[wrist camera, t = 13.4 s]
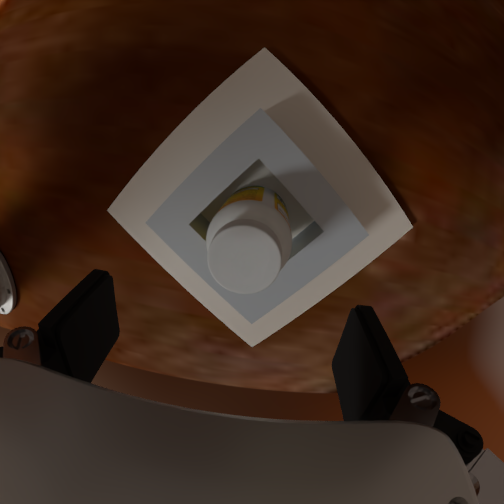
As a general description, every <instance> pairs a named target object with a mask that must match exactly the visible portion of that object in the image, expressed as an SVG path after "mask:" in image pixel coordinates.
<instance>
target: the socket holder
mask: <svg viewBox="0 0 504 504" xmlns="http://www.w3.org/2000/svg"><path fill="white" fill-rule="evenodd" d="M253 185H259V186H264V187H267V188H269V189H271V190H273V191H275V192H276V193H277V194H278V195H279V196H280V197H281V198H282V200H283V201H284V203H285V205H286V208H287V211H288V216H289V222H290V227H291V234H292V249H291V253H290V256H289V259H288V261H287V263H286V264H285V266H284V267H283V268H282V269H281V270H280V272H279V274H278V276H277V278H276V280H275V281H274V282H273V283H272V284H271V285H270V286H269V287H267V288H266V289H264V290H262V291H260V292H257V293H253V294H238V293H234V292H231V291H229V290H227V289H225V288H223V287H222V286H221V285H220V284H218V283H217V282H216V280H215V279H214V278H213V276H212V275H211V273H210V270H209V268H208V262H207V253H208V251H207V247H206V235H207V230H208V227H209V225H210V223H211V221H212V219H213V218H214V216H215V215H216V214H217V212H218V211H219V210H220V208H221V207H222V206H223V205H224V203H225V202H226V201H227V199H228V198H229V197H230V196H231V195H232V194H233V193H234V192H236V191H237V190H239V189H241V188H243V187H247V186H253ZM107 211H108V212H109V213H110V214H111V215H112V216H113V217H114V218H115V219H116V221H117V222H118V223H119V224H120V225H121V226H122V227H123V228H124V229H125V230H126V231H127V232H128V233H129V234H130V235H131V236H132V237H133V238H134V239H135V240H136V241H137V242H138V243H139V244H140V245H141V246H142V247H143V248H144V249H145V250H146V251H147V252H148V253H149V254H150V255H151V256H152V257H153V258H154V259H155V260H156V261H157V262H158V263H159V264H160V265H161V266H162V267H163V268H164V269H165V270H166V271H167V272H168V273H169V274H170V275H172V276H173V277H174V278H175V279H176V280H177V281H178V282H179V283H180V284H181V285H182V286H183V287H184V288H185V289H186V290H187V291H189V292H190V293H191V294H192V295H193V296H194V297H195V298H196V299H197V300H198V301H199V302H201V303H202V304H203V305H204V306H205V307H206V308H207V309H208V310H209V311H211V312H212V313H213V314H214V315H215V316H216V317H217V318H218V319H220V320H221V321H222V322H223V323H224V324H225V325H226V326H228V327H229V328H230V329H231V330H232V331H233V332H235V333H236V334H237V335H238V336H239V337H240V338H242V339H243V340H244V341H245V342H246V343H248V344H249V345H250V346H251V347H253V346H255V345H256V344H258V343H259V342H261V341H262V340H264V339H265V338H267V337H268V336H270V335H271V334H273V333H274V332H276V331H277V330H279V329H280V328H282V327H283V326H285V325H286V324H288V323H289V322H291V321H292V320H293V319H295V318H296V317H298V316H299V315H301V314H302V313H303V312H305V311H306V310H308V309H309V308H310V307H312V306H313V305H315V304H316V303H317V302H319V301H320V300H322V299H323V298H324V297H326V296H327V295H328V294H330V293H331V292H332V291H334V290H335V289H336V288H338V287H339V286H340V285H342V284H343V283H344V282H346V281H347V280H348V279H350V278H351V277H352V276H354V275H355V274H356V273H357V272H359V271H360V270H361V269H363V268H364V267H365V266H366V265H368V264H369V263H370V262H371V261H373V260H374V259H375V258H376V257H378V256H379V255H380V254H381V253H383V252H384V251H385V250H386V249H388V248H389V247H390V246H391V245H392V244H394V243H395V242H396V241H397V240H398V239H400V238H401V237H402V236H403V235H404V234H405V233H407V232H408V231H409V230H410V229H411V228H412V227H413V226H412V224H411V223H410V221H409V219H408V218H407V216H406V215H405V213H404V212H403V210H402V208H401V207H400V205H399V204H398V202H397V201H396V199H395V198H394V196H393V195H392V193H391V192H390V190H389V189H388V187H387V186H386V185H385V183H384V182H383V180H382V179H381V178H380V176H379V175H378V173H377V172H376V171H375V169H374V168H373V167H372V165H371V164H370V162H369V161H368V160H367V158H366V157H365V156H364V155H363V153H362V152H361V151H360V149H359V148H358V147H357V146H356V144H355V143H354V142H353V141H352V139H351V138H350V137H349V136H348V134H347V133H346V132H345V131H344V129H343V128H342V127H341V126H340V125H339V124H338V122H337V121H336V120H335V119H334V118H333V117H332V115H331V114H330V113H329V112H328V111H327V110H326V109H325V107H324V106H323V105H322V104H321V103H320V102H319V101H318V100H317V99H316V98H315V96H314V95H313V94H312V93H311V92H310V91H309V90H308V89H307V88H306V87H305V86H304V85H303V84H302V83H301V82H300V81H299V80H298V79H297V78H296V77H295V76H294V75H293V74H292V73H291V72H290V71H289V70H288V69H287V68H286V67H285V66H284V65H283V64H282V63H281V62H280V61H279V60H278V59H277V58H276V57H275V56H274V55H273V54H271V53H270V52H269V51H268V50H267V49H266V48H263V49H262V50H261V51H259V52H258V53H257V54H256V55H254V56H253V57H252V58H251V59H250V60H248V61H247V62H246V63H245V64H244V65H242V66H241V67H240V68H239V69H238V70H237V71H235V72H234V73H233V74H232V75H231V76H230V77H228V78H227V79H226V80H225V81H224V82H223V83H222V84H221V85H220V86H218V87H217V88H216V89H215V90H214V91H213V92H212V93H211V94H210V95H209V96H208V97H207V98H206V99H205V100H204V101H203V102H201V103H200V104H199V105H198V106H197V107H196V108H195V109H194V110H193V111H192V112H191V113H190V114H189V115H188V116H187V117H186V118H185V119H184V120H183V121H182V122H181V124H180V125H179V126H178V127H177V128H176V129H175V130H174V131H173V132H172V133H171V134H170V135H169V136H168V137H167V138H166V139H165V141H164V142H163V143H162V144H161V145H160V146H159V147H158V148H157V149H156V151H155V152H154V153H153V154H152V155H151V156H150V157H149V159H148V160H147V161H146V162H145V163H144V164H143V166H142V167H141V168H140V169H139V170H138V172H137V173H136V174H135V175H134V176H133V178H132V179H131V180H130V181H129V183H128V184H127V185H126V186H125V188H124V189H123V190H122V191H121V193H120V194H119V195H118V197H117V198H116V199H115V200H114V202H113V203H112V204H111V206H110V207H109V208H108V210H107Z"/></svg>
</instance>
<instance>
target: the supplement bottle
mask: <svg viewBox="0 0 504 504" xmlns="http://www.w3.org/2000/svg"><path fill="white" fill-rule="evenodd" d="M206 247H207V251H208V253H207V262H208V268H209V270H210V273H211V275H212V276H213V278H214V279H215V280H216V282H217V283H218V284H220V285H221V286H222V287H223V288H225V289H227V290H229V291H231V292H234V293H238V294H253V293H257V292H260V291H262V290H264V289H266V288H267V287H269V286H270V285H271V284H272V283H273V282H274V281H275V280H276V278H277V276H278V274H279V272H280V270H281V269H282V268H283V267H284V266H285V264H286V263H287V261H288V259H289V256H290V253H291V249H292V234H291V227H290V222H289V216H288V211H287V208H286V205H285V203H284V201H283V200H282V198H281V197H280V196H279V195H278V194H277V193H276V192H275V191H273V190H271V189H269V188H267V187H264V186H259V185H253V186H247V187H243V188H241V189H239V190H237V191H236V192H234V193H233V194H232V195H231V196H230V197H229V198H228V199H227V201H226V202H225V203H224V205H223V206H222V207H221V208H220V210H219V211H218V212H217V214H216V215H215V216H214V218H213V219H212V221H211V223H210V225H209V227H208V230H207V235H206Z"/></svg>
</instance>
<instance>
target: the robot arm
mask: <svg viewBox="0 0 504 504" xmlns="http://www.w3.org/2000/svg"><path fill="white" fill-rule="evenodd" d="M16 299H17V297H16V288H15V283H14V280H13V276H12V274H11V271H10V269H9V267H8V264H7V262H6V260H5V259H4V257H3V255H2V254H1V252H0V313H1V314H8V313H10V312H11V311H12V310H13V309H14V308H15V305H16ZM38 326H39V329H38V330H37V332H36V331H35V330H34V329H33V328H31V327H26V326H24V327H18V328H15V329H13V330H11V331H10V332H9V333H8V334H7V335H6V336H5V338H4V343H3V347H0V504H504V463H503V462H502V461H501V460H500V459H499V458H498V457H497V456H495V455H494V454H493V453H492V452H491V451H490V450H489V449H486V450H485V451H484V450H483V439H482V437H481V435H480V434H479V432H478V431H477V430H475V429H474V428H472V427H470V426H468V425H467V424H465V423H463V422H461V421H459V420H457V419H455V418H454V417H452V416H450V415H448V414H446V413H445V412H442V411H441V410H439V408H440V398H439V396H438V394H437V393H436V392H435V391H434V390H433V389H432V388H430V387H429V386H427V385H424V384H420V383H415V384H411V385H410V382H409V380H408V376H407V374H406V372H405V370H404V368H403V366H402V364H401V362H400V360H399V358H398V356H397V354H396V352H395V350H394V348H393V346H392V344H391V342H390V340H389V338H388V336H387V334H386V332H385V330H384V328H383V326H382V324H381V323H380V321H379V319H378V317H377V315H376V313H375V311H374V310H373V308H372V307H371V306H363V305H357V306H356V307H355V308H352V309H351V311H350V314H349V317H348V319H347V322H346V325H345V328H344V331H343V334H342V336H341V339H340V342H339V345H338V347H337V350H336V353H335V355H334V358H333V361H332V370H333V374H334V378H335V383H336V387H337V391H338V395H339V400H340V405H341V409H342V414H343V419H344V421H301V420H281V419H266V418H256V417H246V416H237V415H228V414H222V413H214V412H208V411H202V410H196V409H191V408H185V407H180V406H175V405H170V404H165V403H161V402H157V401H152V400H148V399H144V398H140V397H136V396H132V395H128V394H124V393H120V392H117V391H114V390H110V389H107V388H104V387H100V386H97V385H94V384H91V382H92V380H93V378H94V376H95V375H96V373H97V371H98V370H99V368H100V366H101V365H102V363H103V361H104V360H105V358H106V357H107V355H108V353H109V352H110V350H111V349H112V347H113V345H114V344H115V342H116V341H117V339H118V337H119V332H120V330H119V323H118V317H117V310H116V302H115V294H114V285H113V278H112V276H110V275H109V273H108V272H107V271H103V270H97V269H94V270H93V271H92V272H91V273H90V274H88V275H87V276H86V277H85V278H84V279H83V280H82V281H81V282H80V283H79V284H78V285H77V286H76V287H75V288H74V289H72V290H71V291H70V292H69V293H68V294H67V295H66V296H65V297H64V298H63V299H62V300H61V301H60V302H59V303H58V304H57V305H56V306H55V307H54V308H53V309H52V310H51V311H50V312H49V313H48V314H47V315H46V316H45V317H44V318H43V319H42V320H41V321H40V322H39V323H38Z"/></svg>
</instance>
